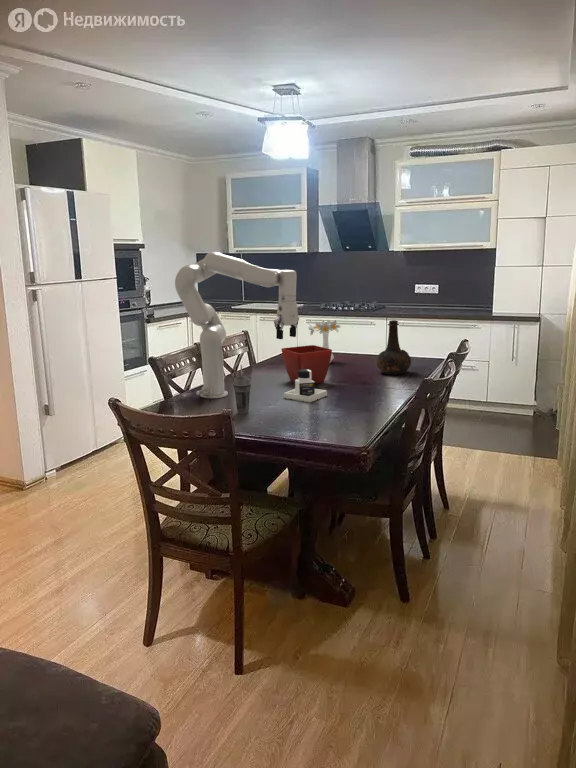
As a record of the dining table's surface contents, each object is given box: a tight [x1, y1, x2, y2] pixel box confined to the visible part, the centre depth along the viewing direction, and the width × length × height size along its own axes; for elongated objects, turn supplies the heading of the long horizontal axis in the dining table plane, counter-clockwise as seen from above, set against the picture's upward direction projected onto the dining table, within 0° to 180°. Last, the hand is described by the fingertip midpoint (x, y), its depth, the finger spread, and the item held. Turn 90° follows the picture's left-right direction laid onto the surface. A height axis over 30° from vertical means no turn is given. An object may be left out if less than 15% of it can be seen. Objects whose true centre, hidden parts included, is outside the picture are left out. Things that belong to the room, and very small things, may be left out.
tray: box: [283, 388, 328, 404], centre depth 261 cm, size 14×14×2 cm
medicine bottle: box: [294, 369, 316, 396], centre depth 260 cm, size 7×7×12 cm
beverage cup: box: [232, 364, 252, 415], centre depth 235 cm, size 7×7×20 cm
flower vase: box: [308, 319, 341, 364], centre depth 338 cm, size 13×18×25 cm
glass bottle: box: [375, 319, 412, 376], centre depth 306 cm, size 18×18×28 cm
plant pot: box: [281, 344, 333, 384], centre depth 289 cm, size 19×19×17 cm
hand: (286, 337), depth 257 cm, fingers open, 9 cm apart
